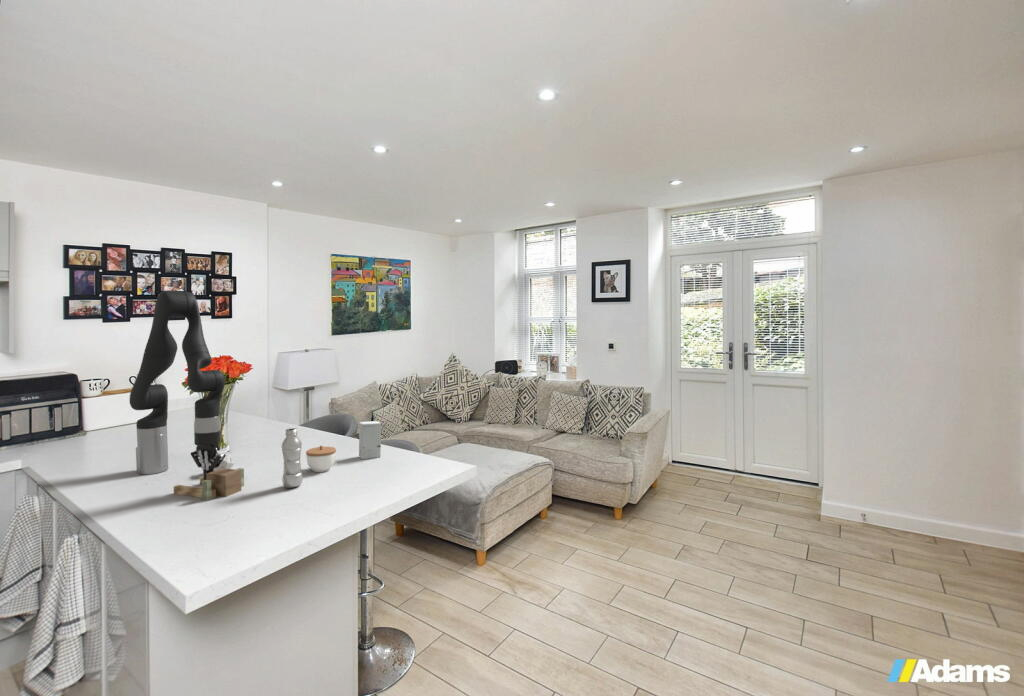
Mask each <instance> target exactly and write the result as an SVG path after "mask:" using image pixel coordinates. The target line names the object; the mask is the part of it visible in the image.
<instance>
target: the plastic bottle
mask: <svg viewBox="0 0 1024 696" xmlns="http://www.w3.org/2000/svg"><path fill="white" fill-rule="evenodd" d="M297 435H298V428H296V427H295V428H294V427H293V428H292V427H291V428H287V429H285V436H286V437H285V438H284V439H283V441H282V442H281V451H282V457H283V473H282V477H281V478H282V479H281V480H282V485H283V487H284V488H288V489H289V488H291V489H292V488H297V487H300V486H301V485H302V483H303V472H302V466H301V457H302V456H301V453H302V445H303V444H302V440H301V439H300V438H299V437H298V436H297Z"/></svg>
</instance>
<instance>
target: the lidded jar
mask: <svg viewBox="0 0 1024 696" xmlns="http://www.w3.org/2000/svg"><path fill="white" fill-rule="evenodd" d="M336 453H337V448H336V447H333V446H323V445H319V446H317V447H312V448H309V449H307V450H306V451H305V454H306V455H305V456H306V462H307V465H308V467H309V468H310V469H311V471H313V472H314V473H323V472H327V471H330V470H329V469H331V468H332V467H333V466H334V465H335V461H336V457H337V456H336V455H337V454H336Z"/></svg>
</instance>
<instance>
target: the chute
mask: <svg viewBox="0 0 1024 696" xmlns="http://www.w3.org/2000/svg"><path fill="white" fill-rule="evenodd" d="M235 470H241V488H242V487H244V486H245V468H241V467H239V468H236V469H235ZM199 483H200V485H201V487H200V486H190V485H181V484H177V485H174V486H173V494H174V495H179V496H186V497H187V496H189V497H196V498H202V501H209V500H212V499H216V497H217V496H216V489H211V480H204V478H203V476H200V477H199Z"/></svg>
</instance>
